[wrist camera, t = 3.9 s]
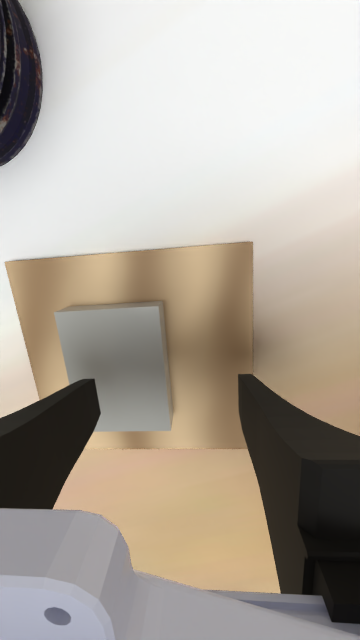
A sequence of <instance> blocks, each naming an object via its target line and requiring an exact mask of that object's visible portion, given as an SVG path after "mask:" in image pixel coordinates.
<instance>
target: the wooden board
mask: <svg viewBox="0 0 360 640" xmlns="http://www.w3.org/2000/svg"><path fill="white" fill-rule="evenodd" d="M5 266H6V270H7V274H8V278H9V282H10V286H11V289H12V293H13V297H14V301H15V305H16V309H17V313H18V317H19V321H20V325H21V329H22V333H23V336H24V340H25V344H26V348H27V352H28V356H29V360H30V364H31V368H32V372H33V376H34V380H35V383H36V387H37V391H38V395H39V399H40V400H41V399H44V398H46V397H47V396H49V395H51V394H53V393H55V392H57V391H59V390H61V389H63V388H65V387H66V386H68V385H69V380H68V376H67V371H66V366H65V362H64V357H63V352H62V348H61V343H60V338H59V334H58V329H57V325H56V320H55V315H54V312H56V311H58V310H61V309H63V308H66V307H68V306H84V305H101V304H117V303H133V302H150V301H163V309H164V319H165V330H166V340H167V351H168V361H169V372H170V382H171V393H172V403H173V414H174V415H173V421H172V428H171V431H112V432H93V434H92V435H91V437H90V439H89V441H88V443H87V444H86V446H85V448H84V449H248V447H247V444H246V441H245V438H244V435H243V431H242V427H241V422H240V416H239V407H238V374H252V375H253V242H242V243H230V244H218V245H206V246H193V247H181V248H169V249H156V250H144V251H132V252H119V253H107V254H95V255H83V256H70V257H58V258H46V259H33V260H21V261H9V262H5Z"/></svg>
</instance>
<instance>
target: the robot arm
mask: <svg viewBox="0 0 360 640" xmlns="http://www.w3.org/2000/svg"><path fill="white" fill-rule="evenodd" d="M238 407H239V416H240V422H241V427H242V431H243V435H244V438H245V441H246V444H247V447H248V451H249V454H250V457H251V460H252V463H253V466H254V470H255V473H256V476H257V480H258V483H259V487H260V492H261V496H262V501H263V506H264V510H265V515H266V520H267V525H268V530H269V534H270V539H271V544H272V549H273V555H274V560H275V565H276V570H277V575H278V580H279V586H280V591H281V594H278V593H259V592H240V591H220V590H202V589H199V588H195V587H192V586H188V585H185V584H181V583H178V582H175V581H171V580H168V579H164V578H161V577H158V576H154V575H151V574H147V573H144V572H141V571H137V570H133V568H132V565H131V559H130V554H129V548H128V545H127V543H126V542H125V540H124V538H123V536H122V534H121V532H120V530H119V529H118V527H117V526H116V525H114V524H113V523H112V522H110V521H109V520H107V519H106V518H104V517H103V516H101V515H99V514H95V513H90V512H86V511H81V510H52V509H53V507H54V505H55V502H56V500H57V498H58V496H59V494H60V492H61V489H62V487H63V485H64V483H65V481H66V479H67V477H68V475H69V474H70V472H71V470H72V468H73V467H74V465H75V463H76V462H77V460H78V458H79V456H80V455H81V453H82V451H83V449H84V448H85V446H86V444H87V443H88V441H89V439H90V437H91V435H92V434H93V432H94V430H95V427H96V425H97V422H98V420H99V417H100V415H101V411H100V405H99V400H98V395H97V389H96V384H95V379H81V380H79V381H77V382H74V383H72V384H70V385H68V386H66V387H65V388H63V389H61V390H59V391H57V392H55V393H53V394H51V395H49V396H47V397H46V398H44V399H41V400H39V401H37V402H35V403H33V404H31V405H29V406H27V407H25V408H23V409H21V410H19V411H16V412H14V413H12V414H9V415H7V416H5V417H2V418H0V640H360V436H358V435H355V434H352V433H349V432H347V431H344V430H342V429H339V428H337V427H334V426H332V425H330V424H328V423H325V422H323V421H321V420H319V419H317V418H315V417H313V416H311V415H309V414H307V413H305V412H304V411H302V410H300V409H298V408H297V407H295V406H293V405H292V404H290V403H289V402H287V401H286V400H284V399H283V398H281V397H280V396H278V395H277V394H276V393H274V392H273V391H272V390H270V389H269V388H268V387H267V386H265V385H264V384H263V383H262V382H261V381H259V380H258V379H257V378H256V377H255V376H253V375H252V374H238Z"/></svg>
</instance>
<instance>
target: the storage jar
mask: <svg viewBox="0 0 360 640" xmlns="http://www.w3.org/2000/svg"><path fill="white" fill-rule="evenodd" d="M41 99H42V68H41V61H40V54H39V51H38V47H37V43H36V39H35V36H34V33H33V31H32V28H31V26H30V23H29V21H28V18H27V17H26V15H25V13H24V11H23V9H22V7H21V6H20V4H19V2H18V1H17V0H0V166H2V165H4V164H6V163H7V162H8V161H10V160H11V159H12V158H14V157H15V156H16V155H17V154H18V153H19V152H20V151H21V149H22V148H23V147H24V146H25V144H26V143H27V141H28V139H29V138H30V136H31V134H32V132H33V130H34V127H35V125H36V122H37V119H38V115H39V111H40V107H41Z"/></svg>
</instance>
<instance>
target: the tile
mask: <svg viewBox="0 0 360 640" xmlns="http://www.w3.org/2000/svg"><path fill="white" fill-rule="evenodd" d="M54 315H55V320H56V325H57V329H58V334H59V338H60V343H61V348H62V352H63V357H64V362H65V366H66V371H67V376H68V380H69V385H70V384H72V383H74V382H77V381H79V380H81V379H95V384H96V389H97V395H98V400H99V405H100V411H101V415H100V417H99V420H98V422H97V425H96V427H95V430H94V432H112V431H171V428H172V421H173V415H174V414H173V403H172V393H171V382H170V372H169V361H168V351H167V340H166V330H165V319H164V309H163V301H150V302H133V303H117V304H101V305H84V306H68V307H66V308H63V309H61V310H58V311H56V312H54Z"/></svg>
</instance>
